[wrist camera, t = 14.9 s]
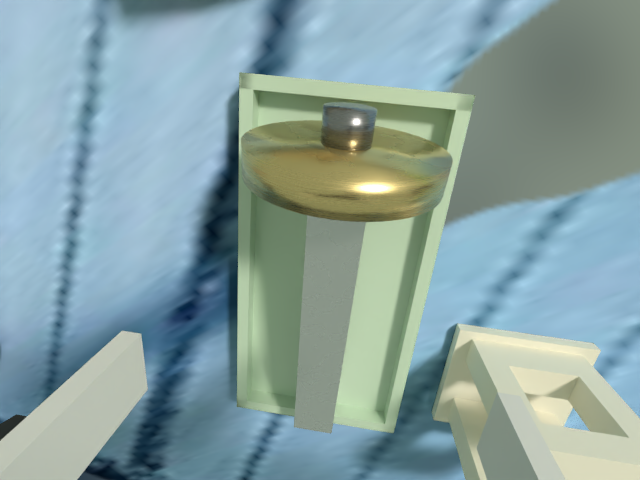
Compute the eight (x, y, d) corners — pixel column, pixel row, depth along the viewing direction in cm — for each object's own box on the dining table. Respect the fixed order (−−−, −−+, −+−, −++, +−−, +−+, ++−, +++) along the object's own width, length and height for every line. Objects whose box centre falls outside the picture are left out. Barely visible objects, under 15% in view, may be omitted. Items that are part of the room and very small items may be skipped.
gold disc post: (271, 84, 24) (198, 115, 14) (441, 101, 23) (495, 147, 13) (271, 352, 39) (234, 464, 28) (376, 369, 38) (378, 491, 27)
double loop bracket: (457, 323, 31) (506, 433, 21) (593, 343, 30) (719, 468, 20) (431, 411, 35) (462, 542, 25) (551, 431, 34) (636, 575, 24)
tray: (464, 96, 25) (475, 95, 22) (391, 412, 36) (393, 433, 34) (250, 76, 26) (239, 72, 23) (244, 388, 37) (236, 406, 35)
